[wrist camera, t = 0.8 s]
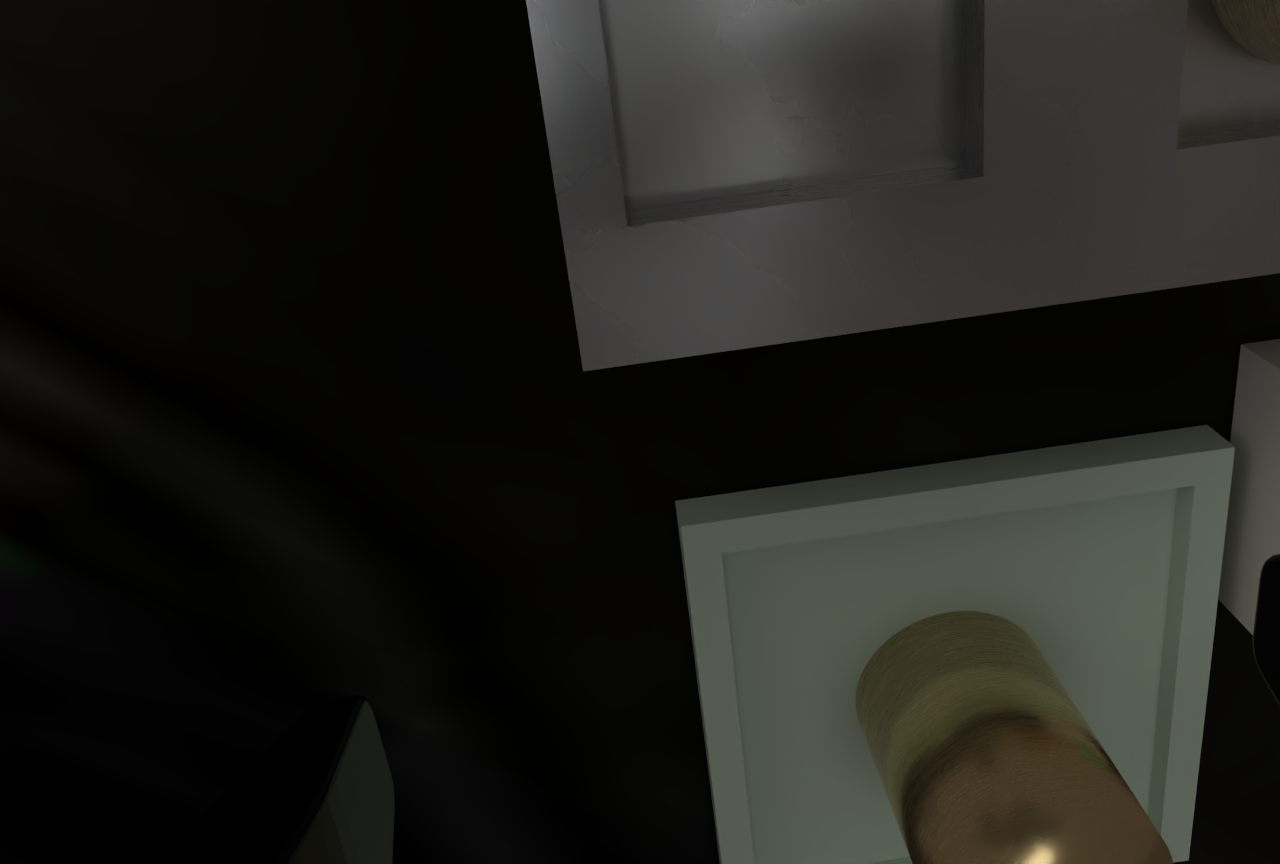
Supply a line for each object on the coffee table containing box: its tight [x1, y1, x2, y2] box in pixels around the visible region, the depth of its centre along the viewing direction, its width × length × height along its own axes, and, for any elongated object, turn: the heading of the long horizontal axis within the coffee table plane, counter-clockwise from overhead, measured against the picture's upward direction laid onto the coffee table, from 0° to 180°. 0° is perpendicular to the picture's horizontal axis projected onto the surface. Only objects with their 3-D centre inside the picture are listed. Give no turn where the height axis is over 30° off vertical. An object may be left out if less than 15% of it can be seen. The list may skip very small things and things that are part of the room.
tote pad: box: [675, 425, 1235, 864], centre depth 24 cm, size 10×10×1 cm
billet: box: [856, 611, 1173, 864], centre depth 22 cm, size 4×4×6 cm
